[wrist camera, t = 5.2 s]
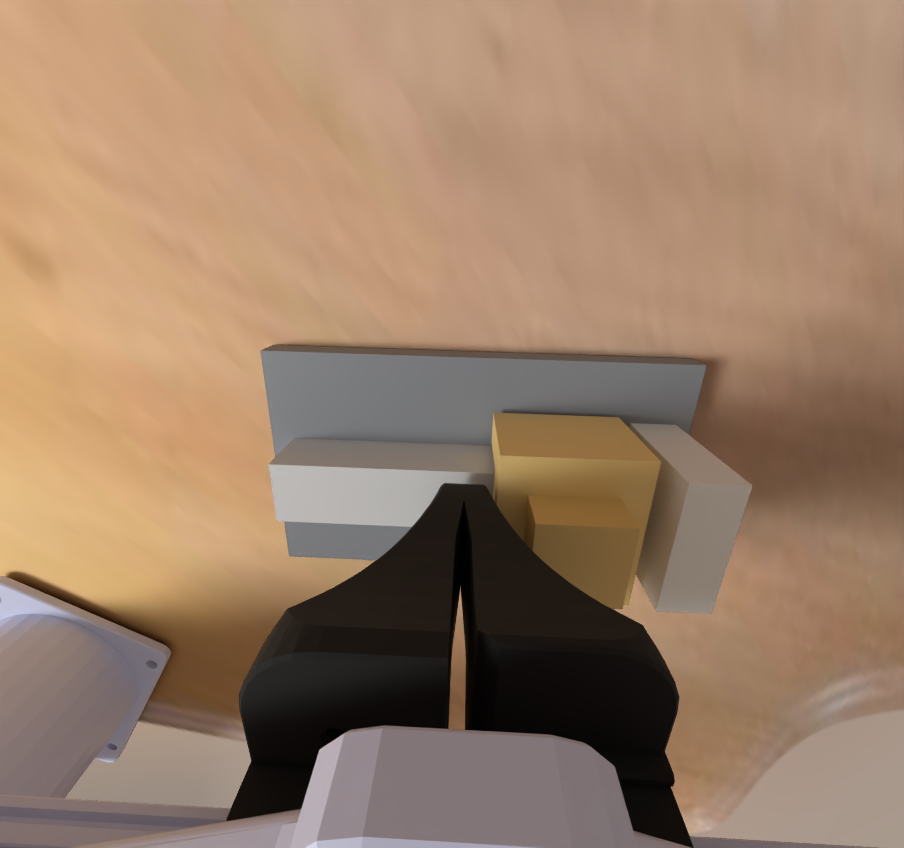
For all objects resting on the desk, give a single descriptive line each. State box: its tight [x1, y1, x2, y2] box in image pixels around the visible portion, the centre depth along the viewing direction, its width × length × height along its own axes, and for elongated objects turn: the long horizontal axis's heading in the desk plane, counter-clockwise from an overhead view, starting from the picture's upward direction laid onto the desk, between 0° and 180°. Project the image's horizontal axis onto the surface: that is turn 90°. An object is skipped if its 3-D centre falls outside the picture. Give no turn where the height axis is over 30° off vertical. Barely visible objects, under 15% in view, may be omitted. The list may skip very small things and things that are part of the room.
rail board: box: [261, 345, 753, 614], centre depth 13 cm, size 14×8×5 cm, turn 88°
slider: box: [492, 413, 661, 609], centre depth 12 cm, size 4×5×4 cm
